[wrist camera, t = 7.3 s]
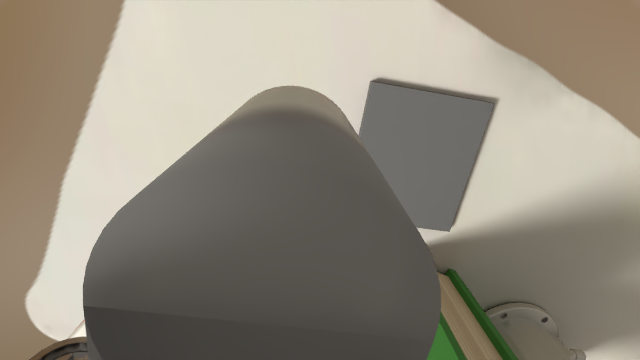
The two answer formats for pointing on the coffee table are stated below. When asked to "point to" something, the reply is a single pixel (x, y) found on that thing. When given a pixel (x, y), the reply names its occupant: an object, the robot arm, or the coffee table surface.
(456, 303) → the hardback book
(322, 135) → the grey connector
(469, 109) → the charcoal mat
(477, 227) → the coffee table surface
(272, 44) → the coffee table surface
